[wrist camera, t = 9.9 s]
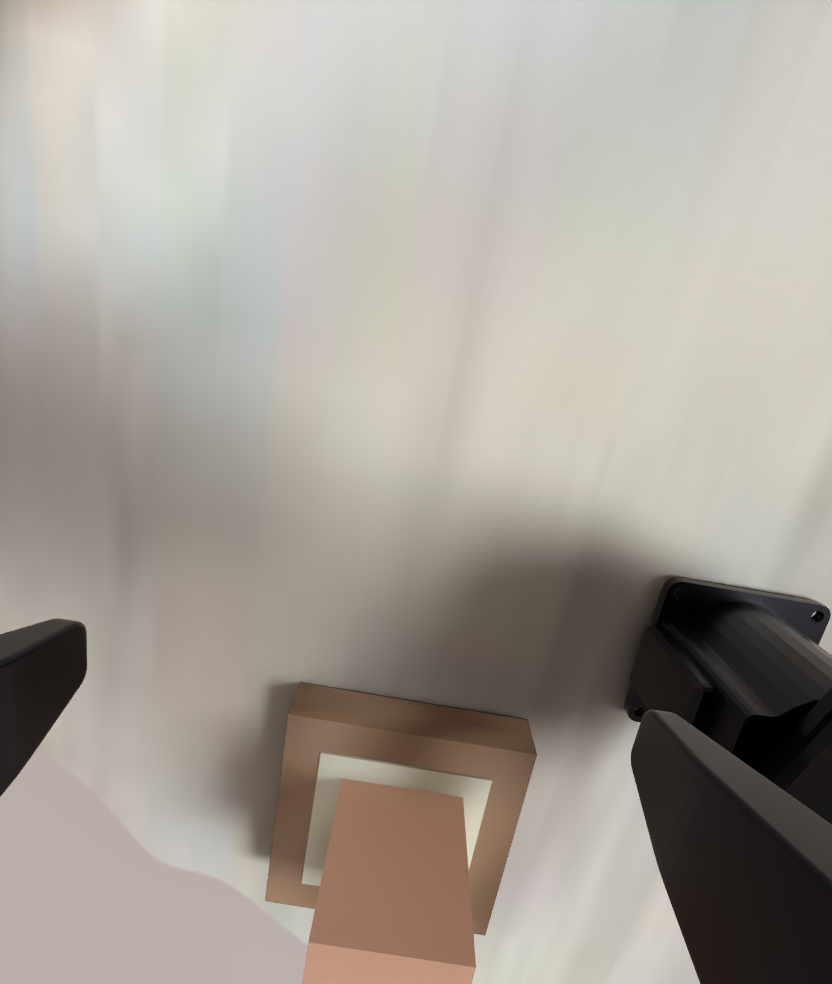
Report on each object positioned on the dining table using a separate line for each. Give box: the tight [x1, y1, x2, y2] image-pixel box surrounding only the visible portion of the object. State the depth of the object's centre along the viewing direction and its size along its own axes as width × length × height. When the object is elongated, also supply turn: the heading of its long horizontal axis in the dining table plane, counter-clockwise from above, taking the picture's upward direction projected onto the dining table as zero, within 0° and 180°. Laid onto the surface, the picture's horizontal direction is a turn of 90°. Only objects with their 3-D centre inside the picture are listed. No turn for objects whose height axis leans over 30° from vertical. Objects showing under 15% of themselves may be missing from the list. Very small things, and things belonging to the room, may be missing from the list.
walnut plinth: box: [265, 683, 537, 935], centre depth 23 cm, size 10×10×2 cm
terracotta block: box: [302, 778, 476, 984], centre depth 19 cm, size 5×5×6 cm
